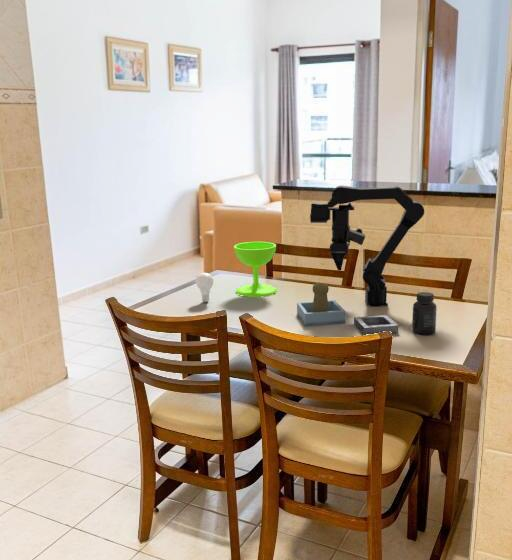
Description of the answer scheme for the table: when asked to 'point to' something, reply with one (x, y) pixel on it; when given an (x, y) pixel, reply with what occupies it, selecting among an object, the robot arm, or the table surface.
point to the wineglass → (255, 266)
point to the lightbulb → (204, 285)
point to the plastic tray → (320, 314)
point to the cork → (320, 297)
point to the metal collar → (375, 324)
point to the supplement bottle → (424, 314)
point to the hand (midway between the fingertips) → (340, 267)
